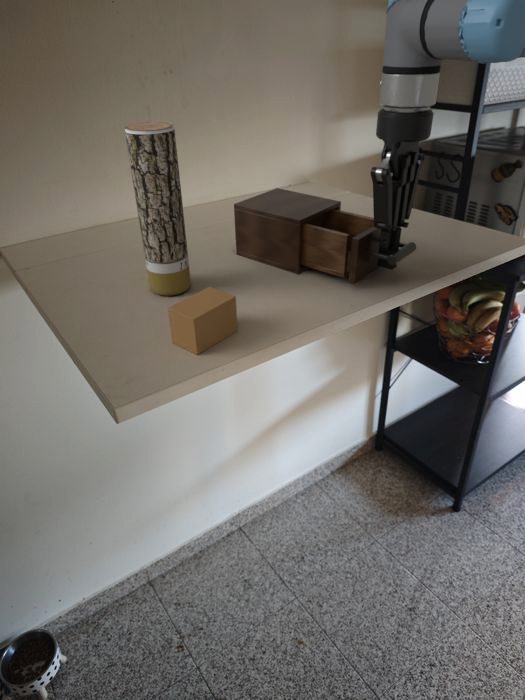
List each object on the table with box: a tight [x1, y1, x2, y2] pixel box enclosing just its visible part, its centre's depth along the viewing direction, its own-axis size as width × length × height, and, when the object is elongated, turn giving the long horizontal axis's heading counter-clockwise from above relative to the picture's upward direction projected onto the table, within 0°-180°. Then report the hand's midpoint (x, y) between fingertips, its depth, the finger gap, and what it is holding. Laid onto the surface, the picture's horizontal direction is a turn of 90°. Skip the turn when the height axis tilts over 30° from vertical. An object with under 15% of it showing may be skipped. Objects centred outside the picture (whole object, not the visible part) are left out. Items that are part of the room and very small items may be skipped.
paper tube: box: [124, 121, 192, 297], centre depth 76 cm, size 7×7×25 cm
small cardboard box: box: [167, 286, 238, 356], centre depth 69 cm, size 8×5×6 cm, turn 141°
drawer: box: [301, 209, 417, 286], centre depth 84 cm, size 19×11×8 cm, turn 51°
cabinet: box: [233, 187, 342, 275], centre depth 92 cm, size 15×13×10 cm
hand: (386, 266), depth 82 cm, fingers closed
